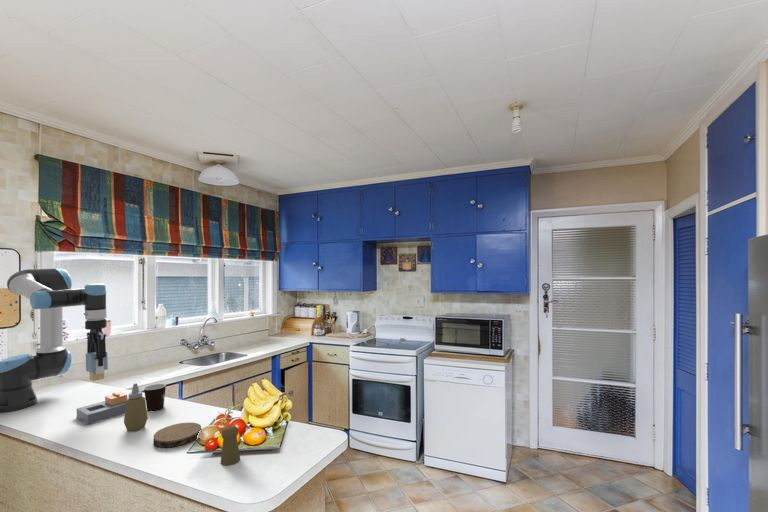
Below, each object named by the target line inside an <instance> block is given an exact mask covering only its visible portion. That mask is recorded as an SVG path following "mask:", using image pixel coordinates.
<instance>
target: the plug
mask: <svg viewBox="0 0 768 512" xmlns="http://www.w3.org/2000/svg"><path fill="white" fill-rule="evenodd" d="M95 358H97V357H96V352H91V353H87V352H86V353H85V372H87V373H88V372H89V380H90V381H93V382H95V381H100V380H104V379H105V372H104V373H102V374H97V375H96V360H95ZM108 369H109V368H108V351H106V357H104V371H105V370H108Z"/></svg>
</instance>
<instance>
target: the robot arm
mask: <svg viewBox="0 0 768 512" xmlns="http://www.w3.org/2000/svg"><path fill="white" fill-rule="evenodd" d="M72 286H73V283H72V278H71V275H70V274H69V271H67V270H66V269H64V268H56V267H55V268H35V269H32V268H31V269H23V270H19V271H16V272H15V273H13V274H12V275H10V276H9V278H8V279H7V281H6V287H7V289H8V290H9V292H11V293H12V294H14V295H16V296H23V297H24V298H26V299H29V302H30V303H29V304H30V306H31V308H32V309H33V310H39V311H40V312H39V314H40V316H39V317H40V319H39V325H40V326H39V328H40V332H39V341H40V342H39V344H40V346H39V348H38V349H36V351H35V355H32V354H31V353H24V354H17V355H14V356H13V355H12V356H10V357H6V358H4V359H2V360H0V413H3V412H5V413H6V412H13V411H16V410H22V409H26V408H28V407H32V406H33V405H35V404H37V403H38V397H37V395H36V393H35V390H34V388H33V381H36V380H41V379H45V378H50V377H57V376H59V375H63V374H66V373H68V371H69V369H70V368H71V365H72V359H73V358H72V353H71V351H70V350H68V349H67V347H66V346H65V345H64V344H63V327H64V326H63V321H64V320H63V308H66V307H67V308H68V307H77V306H79V307H80V306H84V312H83V315H84V319H85V321H84V328H85V330H89V331H88V332H86V336H87V338H86V339H87V340H86V341H87V343H86V346H87V347H86V348H87V349H86V353H91V352H96V357H97V358H95V360H96V375H97V374H102V373H104V374H105V370H104V357H106V352H107V351H106V350H107V349H106V345H107V344H106V336H107V335H106V333H104V332H103V329H105V328H107V326H108V325H107V319H106V318H107V290H106V289H107V287H106V285H105V284H104V283H90V284H85V285H84V287H79V288H72Z"/></svg>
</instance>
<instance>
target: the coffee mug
mask: <svg viewBox="0 0 768 512" xmlns="http://www.w3.org/2000/svg"><path fill="white" fill-rule="evenodd" d="M166 388H167V385H166V384H165V383H155V384H154V383H153V384H151V385H147V386H145V387H143V391H144V392H143V393H144V397H145V401H146V409H147V412H149V411H154V412H157V411H158V410H159V411H161V410H163V409H164V408H165V407H164V406H165V396H166Z"/></svg>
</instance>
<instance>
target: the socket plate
mask: <svg viewBox="0 0 768 512" xmlns="http://www.w3.org/2000/svg"><path fill="white" fill-rule="evenodd" d="M128 399H129V397H127V400H128ZM125 405H126V402H123V403H119V404H116V405H112V406H110V405H108V404H106V403H105V400H104V401H100V402H96V403H92V404H88V405H83V406H82V407H78V408H76V419H78V420H80V422H83V423H84V424H86V425H91V424H95V423H98V422H101V421H105V420H107V419H111V418H115V417H118V416H120V415H121V416H122V415H125Z"/></svg>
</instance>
